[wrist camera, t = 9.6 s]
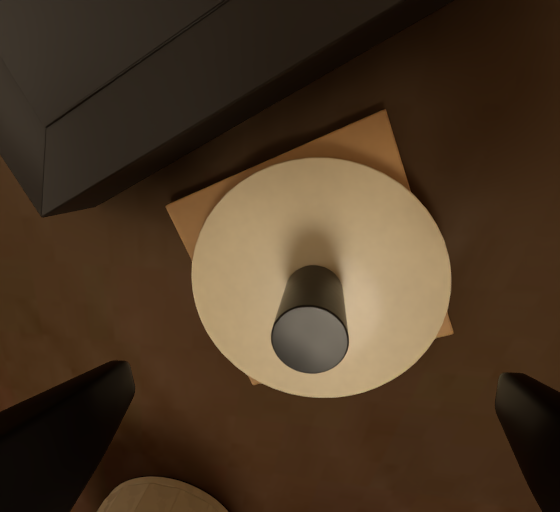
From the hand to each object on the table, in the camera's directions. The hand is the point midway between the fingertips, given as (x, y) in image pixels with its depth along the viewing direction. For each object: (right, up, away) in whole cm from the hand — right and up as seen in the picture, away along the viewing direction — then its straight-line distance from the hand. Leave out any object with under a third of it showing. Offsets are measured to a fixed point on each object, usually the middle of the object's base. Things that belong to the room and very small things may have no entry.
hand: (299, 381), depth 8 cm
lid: (+1, +2, +6) cm, 6 cm away
